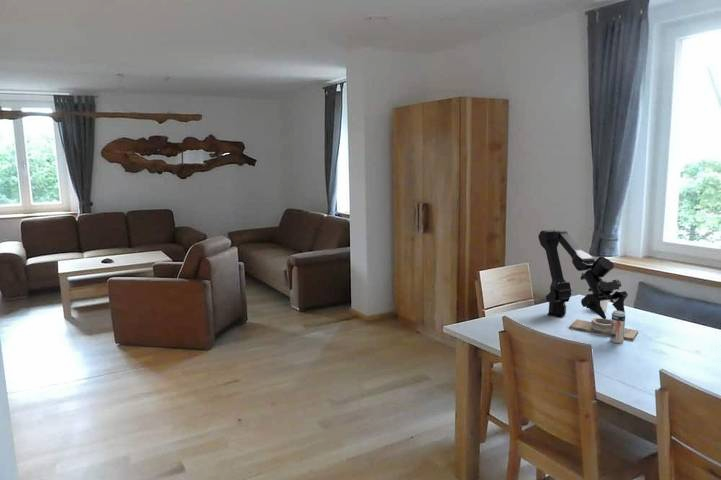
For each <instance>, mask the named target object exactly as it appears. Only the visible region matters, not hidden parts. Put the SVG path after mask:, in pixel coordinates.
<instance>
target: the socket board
mask: <svg viewBox="0 0 721 480" xmlns="http://www.w3.org/2000/svg"><path fill="white" fill-rule="evenodd" d="M611 321H612V318H611V319H609V318H606V319H603V318H602V317H595V318H592V320H591V321H587V320H583V319H576V320H574V321H573V322H572V323H571V324H570V325H569V329H571V330H576V331H580V332H585V333H591V334H594V335H595V334H596V335H602V336H605V337H606V336H607V337H610V333H611ZM638 334H639V330H636V329H632V328H627V327H626V328H625V327H624V339H623V340H627V341H632V342H633V341H634V340H635V339H636V337H637V336H638Z"/></svg>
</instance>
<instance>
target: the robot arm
mask: <svg viewBox="0 0 721 480" xmlns="http://www.w3.org/2000/svg"><path fill="white" fill-rule="evenodd" d="M537 236H538V241H539V244H540V246H541V247H542V248H543V249H544V250H545V254H546V259H547V263H548V264H547V265H548V269H549V272H550V278H551V283H550V287H549V293H548V294H546V295H545V300H546V302H547V303H548V312H547V315H548V316H553V317H556V318H557V317H558V318H563V317H564V316H565V315H566V314H567V305H566V303H568V302H569V301H570V300H571V299H570V298H571V296H572V289H571V283H570V282H569V281H566V279H564V274H563V270H562V265H561V261H560V256H559V253H558V246H559V244H560V245H561V246H562V247H563V249H564V250H565V251H566V252H567V254H568V255H569V256H570V257H571V263H572V264H573V266H574V268H575V270H577V271H578V272H582V271H585V272H582V273H581V276H580V280H584V281H585V282H586V283H587V286H588V287H589V288H588V289H587V290H588V292H590V293H589V294H586V295H585V296H584V297H583V298H581V301H580V303H581V305H582V307H585V308H586V309H589V310H591V311H592V312H594V313H595V314H597V315H598V316H599V318H603V319H607V315H606V314H605V311H603V309H602V307H601V306H600V301H605V300H609V302H611V303H612V306H613V308H614V309H615V311H616V310H617V311H623V312H625V313H626V311H625V305H624V302H625V300H626V299H627V297H629V294H628V293H627V291H626V290H620V287H622V282H621V280H619V278H617V279H612V281H608V282H607V281H605V280H603V279H602V278H605V276H607V275H608V274H609V273H610V272H611V271H612V270H613V269H614V268H615V266H614V262H612V261H611V260H610V259H608V258H606V257H605V256H604V255H600V256H599V257H597V259H595V258H594V257H593V256H591V254H589V253H587V252H585V251H583V250H582V249H581V248H580V246H579V245H578V244H577V242H576V241H574V240H573V239H572V238H571V236H570V235H569V233H568V231H567V230H565V229H564V230H563V229H560V230H555V229H548V230H541V231H540V232H539V233H538V235H537ZM614 291H615V292H614Z"/></svg>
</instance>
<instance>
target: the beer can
mask: <svg viewBox="0 0 721 480" xmlns="http://www.w3.org/2000/svg"><path fill="white" fill-rule="evenodd" d="M611 320H612V321H611V333H610V336H609V341H611V342H612V343H615V344H622V343H624V340H625V339H624V328H625V325H626V311H625V312H623V311H617V310H616V309H615V310H613V312H612V313H611Z"/></svg>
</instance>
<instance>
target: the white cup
mask: <svg viewBox="0 0 721 480" xmlns="http://www.w3.org/2000/svg"><path fill="white" fill-rule="evenodd" d="M609 302H610V300H605V301H600V306H601V307H602V309H603V311H604V312H606V311H608V306H609Z"/></svg>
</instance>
